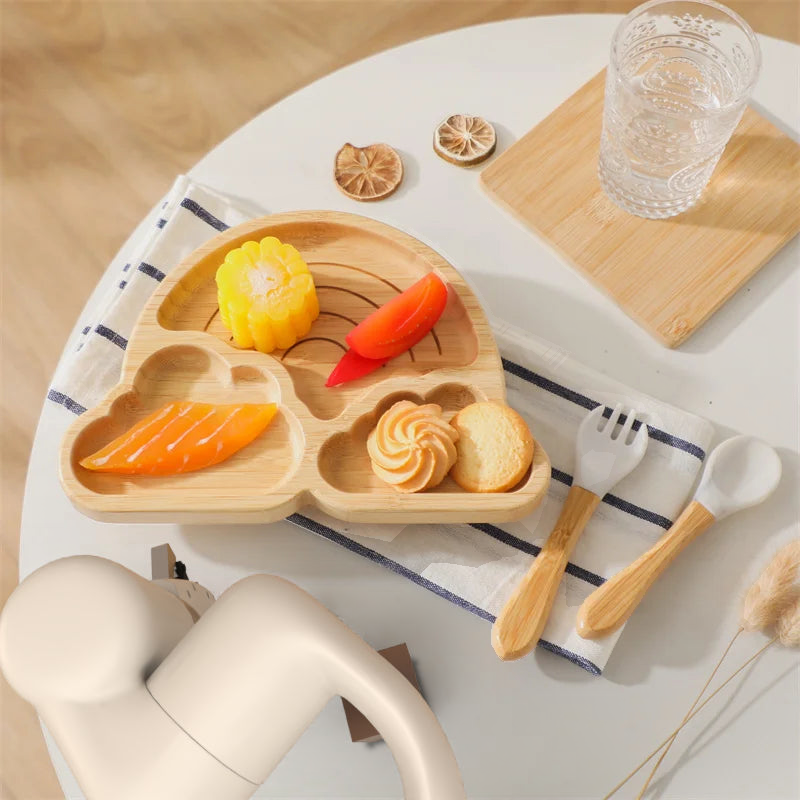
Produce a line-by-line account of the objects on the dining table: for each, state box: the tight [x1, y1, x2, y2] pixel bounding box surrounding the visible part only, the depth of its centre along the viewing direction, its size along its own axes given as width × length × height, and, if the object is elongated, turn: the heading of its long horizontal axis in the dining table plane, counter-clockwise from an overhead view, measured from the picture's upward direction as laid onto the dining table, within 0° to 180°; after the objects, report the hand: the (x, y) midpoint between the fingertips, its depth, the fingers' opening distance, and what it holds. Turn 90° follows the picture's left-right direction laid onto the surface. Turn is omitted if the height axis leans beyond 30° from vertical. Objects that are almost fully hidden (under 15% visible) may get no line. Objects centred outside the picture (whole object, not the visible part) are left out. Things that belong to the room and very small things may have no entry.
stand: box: [340, 642, 422, 743], centre depth 95 cm, size 7×7×26 cm
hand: (210, 673), depth 70 cm, fingers open, 9 cm apart
